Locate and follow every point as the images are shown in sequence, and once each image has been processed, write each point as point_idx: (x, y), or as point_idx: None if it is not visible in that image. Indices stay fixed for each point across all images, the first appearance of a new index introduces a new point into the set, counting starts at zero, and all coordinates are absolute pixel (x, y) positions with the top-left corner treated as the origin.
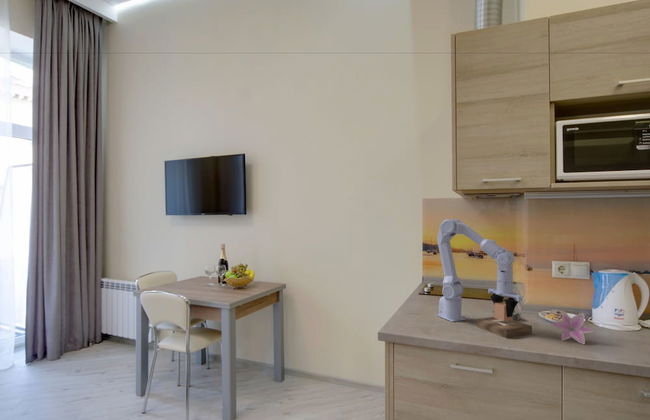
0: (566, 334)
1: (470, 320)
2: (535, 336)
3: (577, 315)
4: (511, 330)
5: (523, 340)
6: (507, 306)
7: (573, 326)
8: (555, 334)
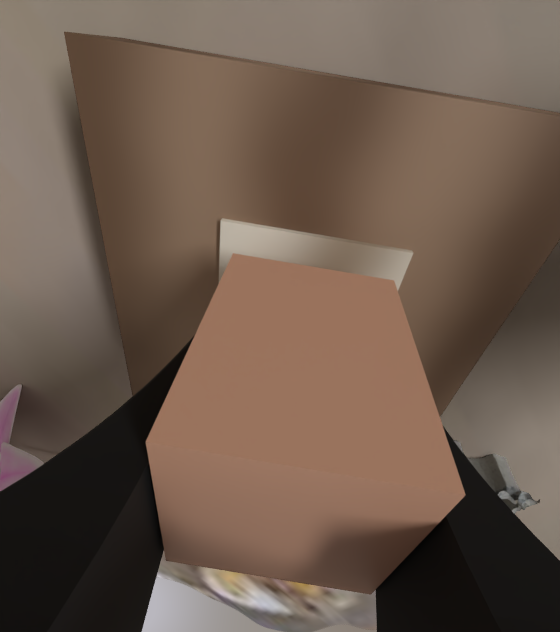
0: (4, 429)
1: None
2: (104, 329)
3: None
4: (94, 150)
5: (33, 157)
6: (104, 459)
7: None
8: None
